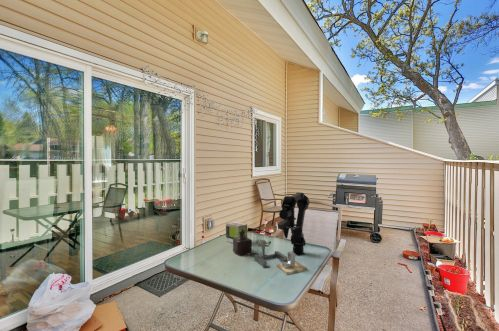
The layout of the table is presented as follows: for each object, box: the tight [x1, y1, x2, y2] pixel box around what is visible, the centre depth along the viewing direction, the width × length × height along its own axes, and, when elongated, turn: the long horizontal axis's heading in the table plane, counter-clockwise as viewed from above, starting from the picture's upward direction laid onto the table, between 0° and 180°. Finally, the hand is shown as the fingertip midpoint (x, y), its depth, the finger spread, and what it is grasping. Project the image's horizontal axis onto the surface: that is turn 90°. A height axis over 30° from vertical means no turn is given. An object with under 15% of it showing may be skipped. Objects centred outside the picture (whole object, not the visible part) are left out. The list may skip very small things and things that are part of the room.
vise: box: [254, 250, 288, 268], centre depth 161 cm, size 17×12×4 cm
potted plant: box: [232, 229, 253, 256], centre depth 176 cm, size 16×11×18 cm
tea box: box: [225, 221, 248, 244], centre depth 200 cm, size 15×10×15 cm
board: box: [275, 260, 308, 275], centre depth 151 cm, size 14×12×1 cm
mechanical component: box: [255, 239, 272, 256], centre depth 172 cm, size 3×10×10 cm, turn 79°
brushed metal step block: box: [281, 251, 296, 269], centre depth 150 cm, size 7×3×8 cm, turn 114°
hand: (290, 240), depth 162 cm, fingers open, 9 cm apart
